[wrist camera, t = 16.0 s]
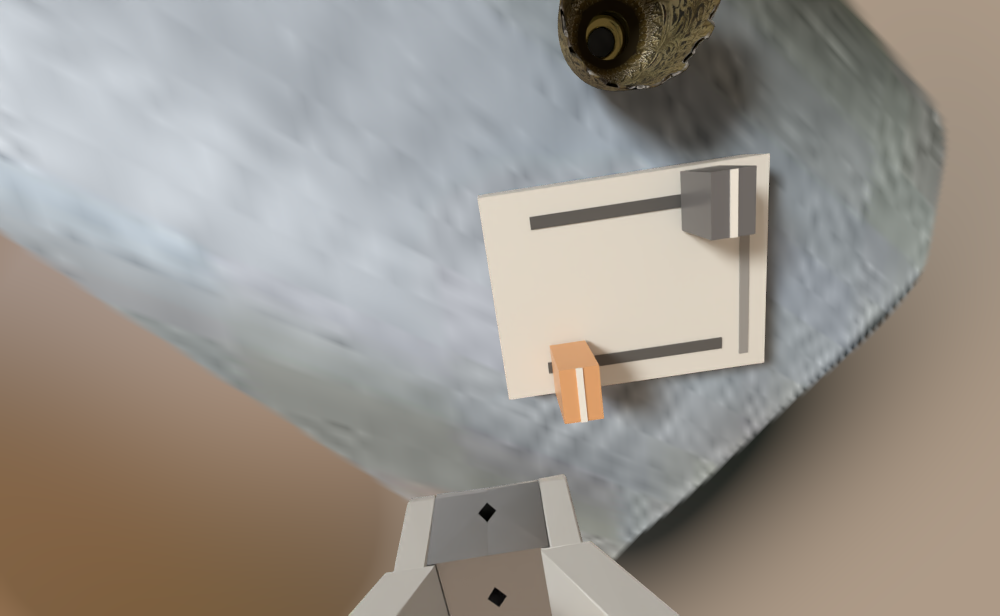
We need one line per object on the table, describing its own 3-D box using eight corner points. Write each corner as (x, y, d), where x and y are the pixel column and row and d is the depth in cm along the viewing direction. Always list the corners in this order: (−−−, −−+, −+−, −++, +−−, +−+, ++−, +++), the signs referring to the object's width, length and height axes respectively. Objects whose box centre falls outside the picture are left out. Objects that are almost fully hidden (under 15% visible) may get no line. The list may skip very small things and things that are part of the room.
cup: (591, -57, 27) (632, -142, 20) (684, 26, 29) (756, -24, 21) (517, 59, 29) (529, 21, 21) (609, 131, 30) (650, 120, 23)
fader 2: (680, 171, 28) (711, 172, 24) (719, 165, 28) (757, 165, 24) (681, 230, 29) (712, 240, 25) (720, 224, 29) (756, 234, 25)
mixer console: (478, 195, 31) (477, 198, 28) (743, 154, 31) (770, 153, 28) (507, 380, 36) (509, 400, 33) (741, 346, 35) (764, 362, 32)
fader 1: (549, 345, 31) (558, 371, 27) (585, 340, 31) (599, 365, 27) (555, 393, 32) (565, 424, 28) (589, 388, 32) (604, 419, 28)
